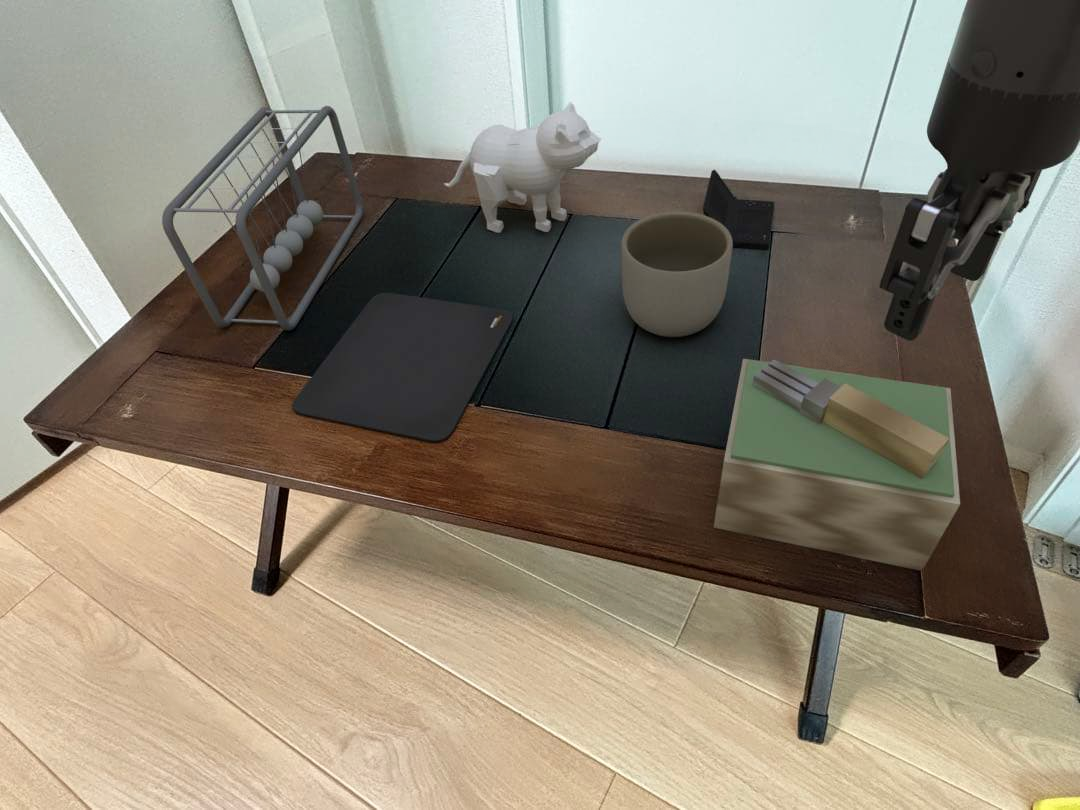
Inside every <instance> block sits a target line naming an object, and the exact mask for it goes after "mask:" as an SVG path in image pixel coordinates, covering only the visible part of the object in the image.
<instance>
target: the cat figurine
mask: <svg viewBox="0 0 1080 810" xmlns="http://www.w3.org/2000/svg"><path fill="white" fill-rule="evenodd" d="M597 132H599V133H600V131H598V130H597ZM601 140H602V138H601V137H600V136H598V135H597V134H596V132H593V131H592V130H591V129H590V127H589V125H588V123H587V121H586V120H585V119H584V118H583V117H582V116H581V115H579V114H578V113H577V110H576V107H575V104H573V103H572V101H569V102H568V104H567V105H566V107H565V108H564V109H563V110H560V111H559V110H558V111H556V112H553V113H551V114H549V115H547V117H545V118H544V119H543V120H542V122H541V123H540V125H539V126H529V127H525V128H522V129H518V130H517V129H514V128H511V127H509V126H505V125H502V124H495V125H491V126H489V127H487V128H485V129H483V130H482V131H481V132H480V133H479V134H478V135H477V136H476V138H475V139H474V141H473V143H472V145H471V148H470V152H469V153H468V154H467V155H466V156H465V157H464V158H463V160H462V161H461V162H460V164H459V165H458V168H457V171H456V172H455V175H454V177H453V178H452V180H450V182H444V183H443V185H445V187H447V188H449V189H451V190H453V189H454V188H455V187H456V186H458V185H459V184H460V183H461V182H462V179H463V177H464V174H465V171H466V170H467V169H468V168H469V167H470V169H471V172H472V174H473V176H474V180H475V185H476V189H477V194H478V199H479V201H480V206H481V209H482V213H483V215H484V217H485V221H486V229H487V230H489V231H492V232H493V233H496V234H497V233H498V234H500V233H502V231H503V229H504V228H505V227H504V221H502V220H500V219H497V215H498V207H499V206H500V205H501V204H503V203H504V202H505V201H508V202H509V203H512V204H516V205H519V206H525V204H526V203H527V201H528V197H530V198H531V204H532V212H533V215H534V218H535V229H536V230H538V231H542V232H544V233H549V232H550V230H551V229H552V221H551V220H549V219H547V214H548V213H547V212H548V207H549V210H550V216H551V218H552V219H554V220H555V221H556V220H557V221H560V222H565V221H566V219H567V218H568V213H567V212H568V211H567V209H565V208H563V207H561V200H562V196H561V194H560V193H561V192H560V191H561V183H562V181H563V178H564V176H565V174H566V171H569V170H572V169H575V168H579V167H581V166H582V165H584V164H585V163H586V161H587V160H588V161H590V159H589V158H590V157H591V156H592V155H593V154H596V152H597V151H598V148H599V143H600V142H601ZM596 158H597V159H598V161H599V160H600V159H599V157H598V156H596ZM547 205H548V206H547Z"/></svg>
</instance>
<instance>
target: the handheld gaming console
mask: <svg viewBox="0 0 1080 810" xmlns="http://www.w3.org/2000/svg"><path fill="white" fill-rule="evenodd" d="M708 180H709V181H708V185H707V188H706V194H705V198H704V201H703V206H702V212H703V215H705V216H707V217H710V218H712V219H714V220H716V221H718V222H719V223H721V224H722V225H723V226H725V227H726V228H727V230H728V231H729V232H730V234H731V236H732V240H733V247H732V248H743V249H755V250H766V251H767V250H769V247H770V243H771V242H770V241H771V235H772V225H773V217H774V209H775V201H772V200H756V199H740V198H738V197H737V196H734V194H733V193H732V191H731V190H730V188H729V187H728V186H727V184H726V183H725V181H724V180H723V179H722V177H721V175H720V174H719V173H718V171H717V170H715V169H712V170H711V173H710V177H709V179H708Z"/></svg>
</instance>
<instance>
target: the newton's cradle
mask: <svg viewBox="0 0 1080 810" xmlns="http://www.w3.org/2000/svg"><path fill="white" fill-rule="evenodd" d="M276 114H306V116H305V117H304V118H303V119H302V121H301V122H300V123H299V124H298V125H297V126H296V127H294V128H293V127H289V128H287V127H285V128H284V127H283V128H282V127H281V126H280V125H281V124H280V123H279V119H278V117H277V115H276ZM313 114H315V116H314V117H313V118H312V119H311V120H310V121H309V123H308V124H307V126H306V127H304V129H303V131H302V132H301V133H300V134H299V135H298V132H299V131H300V129H302V127H303V126H304V125H305V124H306V123H307V121H308V120H309V119H310V118H311V116H312V115H313ZM265 117H267V118H265ZM327 117H328V119H329V122H330V124H331V125H330V126H331V128H332V132H333V135H334V138H335V141H336V145H337V148H338V151H339V155H340V158H341V161H342V164H343V167H344V171H345V174H346V177H347V180H348V183H349V187H350V190H351V193H352V197H353V200H354V204H355V212H354V214H353V215H343V214H342V215H338V214H337V215H336V214H335V215H334V214H333V215H332V214H324V212H323V208H322V206H321V205H320V204H319V203H318V202H317V201H314V200H311V199H310V200H309V196H308V190H307V183H306V178H305V172H304V166H303V160H302V153H301V149H302V148H303V147H304V145H306V143H307V142H308V140H309V139H310V138H311V137H312V136H313V134H314V133H315V132H316V130H317V129H319V127H320V126H321V124H322V123H323V122H324V121H325V119H326V118H327ZM264 119H265V120H264ZM263 120H264V121H263ZM262 121H263V122H262ZM261 122H262V123H261ZM260 123H261V124H260ZM268 123H270V126H271V128H264V127H265V126H266V125H267V124H268ZM259 124H260V125H259ZM258 125H259V126H258ZM257 126H258V128H257ZM255 128H257V129H256V130H255ZM253 130H255V131H254V132H253ZM261 130H262V132H263V134H264V135H265V137H266V139H267V140H268V141H252V140H253V139H254V138H255V137H256V136H257V135H258V134H259V133H260V131H261ZM265 130H272V132H273V135H274V137H275V139H276V141H271V140H270V138H269V137H268V135H267V133H266V131H265ZM282 130H293V131H292V132H291V134H290V135H289V136H288V137H287V138H286V139H285V136H284V133H283V131H282ZM252 132H253V133H252ZM251 133H252V134H251ZM250 134H251V135H250ZM249 135H250V136H249ZM248 136H249V137H248ZM295 136H296V138H295V140H294V141H293V142H292V144H291V145H290V146H289V147H288V144H289V142H290V141H291V140H292V139H293V138H294V137H295ZM247 137H248V138H247ZM246 138H247V139H246ZM245 139H246V140H245ZM244 140H245V142H243V141H244ZM242 142H243V144H242V145H241V146H240V144H241V143H242ZM259 143H260V144H269V145H270V146H271V148H272V150H273V151H274V154H273V155H272V156H270V155H269V156H268V155H267V156H265V155H261V156H260V155H259V154H258V152H257V150H256V148H255V147H254V145H253V144H259ZM249 144H250V146H251V147H252V149H253V151H254V153H255V154H256V156H254V155H252V156H250V155H249V156H248V155H247V156H245V155H243V156H241V155H240V154H241V153H242V152H243V150H244V149H245V148H246V147H247V146H248V145H249ZM273 144H277V145H278V147H279V148H278V149H277V150H276V148H275V147H274V145H273ZM239 146H240V147H239ZM238 147H239V148H238ZM237 148H238V150H236V149H237ZM235 150H236V151H235ZM234 151H235V152H234ZM233 152H234V154H233V155H232V153H233ZM280 154H281V157H280ZM297 154H299V159H300V165H301V171H302V178H303V183H304V189H303V186H302V184H301V181H300V178H299V175H298V173H297V169H296V167H295V164H294V161H293V159H294V158H295V157H296V156H297ZM230 155H232V156H231V157H230V158H229V159H228V160H227V161H226V159H227V158H228V157H229V156H230ZM239 155H240V156H239ZM240 158H258V160H259V162H260V163H261V165H262V168H261V169H260V170H259V171H249V172H248V171H247V170H246V167H245V166H244V164H243V163H242V161H241V159H240ZM261 158H269V160H268V161H267V162H266V163H265V164H264V162H263V161H262V159H261ZM276 158H278V160H277V162H276V163H275V160H276ZM235 159H237V160H238V162H239V163H240V165H241V167H242V169H243V170H244V173H246V175H247V177H248V179H249V180H250V182H249V184H247V186H246V187H234V186H233V184H232V182H231V180H230V179H229V177H228V176H227V174H226V172H225V171H226V169H227V168H228V167H229V166H230V165H231V163H232V162H233V161H234V160H235ZM225 161H226V162H225ZM224 162H225V164H223V163H224ZM222 164H223V165H222ZM221 165H222V166H221ZM270 165H272V166H273V167H272V168H271V169H270V170H269V171H268V168H269V166H270ZM220 166H221V168H220V169H219V170H217V169H218V168H219V167H220ZM216 170H217V172H216V173H215V174H214V172H215V171H216ZM284 171H285V173H286V175H287V176H288V178H289V180H290V184H291V190H292V195H293V201H294V206H295V213H296V214H293V212H292V211H291V208H290V207H289V205H288V204H287V202H286V200H285V199H284V197H283V195H282V193H281V192H280V186H279V181H278V180H279V179H278V178H279V177H280V176H281V174H282V173H283V172H284ZM265 172H266V173H267V174H266V175H265V176H264V178H263V179H262V175H263V174H264V173H265ZM251 173H252V174H253V173H254V174H255V173H256V175H255V176H254V178H252V177H251V176H250V174H251ZM213 174H214V175H213ZM221 174H223V175H224V176H225V178H226V180H227V182H228V183H229V185H230V186H231V187H213V189H216V190H217V189H222V190H223V189H224V190H225V189H226V190H227V189H228V190H229V189H230V190H231V189H232V190H233V191H234V193H235V194H236V196H237V198H236V199H235V200H234V201H233V202H232V203H231V205H230V206H229V207H228V208H222V205H221V204H220V202H219V200H218V199H217V198H216V196H215V194H214V193H213V191H212V190H211V185H212V184H213V183H214V182H215V181H216V180H217V179H218V178H219V177H220V176H221ZM212 175H213V176H212ZM211 176H212V178H211V179H210V180H209V181H208V182H207V183H206V184H205V185H204V186H203V188H201V186H202V185H203V184H204V183H205V182H206V181H207V180H208V179H209V178H210V177H211ZM258 180H260V181H259V184H258V185H257V186H256V185H255V183H256V182H257V181H258ZM275 182H276V183H275ZM272 185H274V187H275V189H276V190H277V192H278V197H279V202H280V207H281V211H282V217H283V223H284V227H285V229H283V230H282V228H281V226H280V225H279V223H278V221H277V219H276V217H275V216H274V214H273V213H272V211H271V210H270V208H269V206H268V204H267V198H266V193H267V192H268V191H269V189H270V188H271V187H272ZM253 186H254V190H253V191H252V192H251V193H250V194H248V192H249V190H251V188H252V187H253ZM200 188H201V190H200V191H198V190H199V189H200ZM207 190H208V191H209V192H210V194H211V196H212V197H213V199H215V200H214V201H215V202H216V203H217V205H218V207H219V208H192V206H193V205H194V204H195V203H196V202H197V201H198V199H200V198H201V197H202V195H203V194H204V193H205V192H206V191H207ZM237 190H243V191H241V193H239V194H238V192H237ZM304 190H305V192H304ZM196 192H198V193H197V194H196V195H195V196H194V197H193V198H192V199H191V200H190V201H189V202H188V204H187V205H186V206H185V207H183V206H184V205H185V204H186V203H187V201H188V200H189V199H190V198H191V197H192V196H193V195H194V194H195V193H196ZM295 194H296V196H295ZM245 195H246V199H245V200H244V202H243V200H242V199H243V197H245ZM296 197H297V199H298V202H299V204H298V205H297V201H296ZM260 200H262V202H263V203H264V205H265V209H266V214H267V218H268V222H269V227H270V232H271V237H272V241H273V245H271V244H270V243H269V241H268V239H267V238H266V236H265V235H264V233H263V232H262V229H261V228H260V227H259V226H258V223H257V222H256V220H255V219H254V217H253V213H252V210H253V209H254V208H255V207H256V205H258V203H259V202H260ZM282 201H283V202H282ZM239 202H241V205H240V206H239V208H235V207H236V206H237V205H238V204H239ZM283 203H284V205H285V206H286V208H287V209H288V211H289V213H290V215H291V217H289V218H288V219H287V221H286V217H285V213H284V207H283ZM182 207H183V208H182ZM176 213H222V214H223V215H224V216H225V218H226V219H227V222H229V224H230V225H231V227H232V229H233V230H234V232H235V234H236V235H237V237H238V239H239V241H240V242H241V244H242V246H243V249H244V251H245V253H246V256H247V257H248V260H249V262H250V264H251V266H252V269H251V271H250V272H249V281H250V282H248V284H247V285H246V287H245V288H244V290H243V291H242V292H241V293H240V295H239V296H238V298H237V299H236V301H235V302H234V304H233V305H232V306H231V308H230V309H229V311H228V312H227V314H226V315H225V316H224V318H222V316H221V315H220V312H219V311H218V308H217V306H216V305H215V302H214V301H213V299H212V297H211V295H210V293H209V291H208V290H207V287H206V286H205V284H204V282H203V279H202V278H201V276H200V274H199V273H198V271H197V269H196V267H195V265H194V263H193V261H192V259H191V258H190V256H189V254H188V252H187V250H186V247H185V246H184V243H183V242H182V240H181V239H180V236H179V235H178V233H177V230H176V229H175V226H174V218H175V215H176ZM226 213H227V214H228V213H232V214H233V213H234V214H235V226H234V225H233V223H232V222H231V220H230V218H229V216H228V215H227V214H226ZM270 215H271V217H272V219H273V220H274V222H275V223H276V225H277V226H278V229H279V230H280V231H279V232H278V234H276V236H274V231H273V226H272V223H271V218H270ZM363 215H364V203H363V198H362V195H361V191H360V189H359V185H358V182H357V177H356V175H355V172H354V169H353V165H352V162H351V158H350V155H349V151H348V147H347V145H346V141H345V138H344V135H343V131H342V128H341V124H340V121H339V118H338V115H337V113H336V110H334V108H333V107H331V106H330V105H324V106H322V108H320V109H286V110H285V109H281V110H279V109H278V110H276V109H272V108H271V107H269V106H262V107H260V108H259V109H258V110H257V111H256V112H255V113H254V114H253V116H252V117H250V118H249V119H248V121H246V122H245V124H244V125H243V126H242V127H241V128H240V129H239V130H238V131H237V132H236V133H235V134H234V135H233V136H232V137H231V138H230V139H229V140H228V141H227V143H226V144H225V145H224V146H223V147H222V148H221V149H220V150H219V151H218V152H217V153H216V154H215V155H214V156H213V157H212V159H210V160H209V161H208V163H207V164H205V165H204V167H203V168H201V170H200V171H199V172H198V173H197V174H196V175H195V176H194V177H193V178H192V179H191V180H190V181H189V182H188V183H187V185H186V186H185V187H183V189H182V190H181V191H180V192H179V193H178V194H177V195H176V196H175V197H174V198H173V199H172V200H171V201H170V203H168V204H167V206H165V208H164V210H163V212H162V217H161V218H162V220H161V222H162V228H163V231H164V233H165V235H166V238H167V239H168V241H169V243H170V244H171V247H172V249H173V250H174V252H175V254H176V256H177V258H178V259H179V261H180V264H181V265H182V267H183V269H184V271H185V272H186V274H187V276H188V278H189V280H190V282H191V284H192V285H193V287H194V289H195V291H196V293H197V295H198V296H199V298H200V301H201V302H202V304H203V306H204V308H205V309H206V312H207V313H208V315H209V317H210V319H211V320H212V321H213V323H214V324H215V325H216V327H219V328H227V327H229V326H231V325H232V323H252V324H274V325H279V327H280V328H281V329H282V330H284V331H288V332H289V331H292V330H294V329H295V328H296V327H297V325H298V324H299V323H300V321H301V319H302V318H303V316H304V314H305V313H306V311H307V309H308V307H309V306H310V304H311V303H312V301H313V299H314V297H315V296H316V295H317V292H318V291H319V290H320V287H321V286H322V284H323V283H324V282H325V279H326V278H327V277H328V275H329V273H330V271H331V270H332V268H333V267H334V264H335V263H336V261H337V259H339V256H340V254H341V253H342V251H343V250H344V248H345V246H346V245H347V243H348V242H349V240H350V238H351V236H352V235H353V233H354V231H355V230H356V228H357V227H358V225H359V223H360V222H361V220H362V218H363ZM248 216H249V217H250V218H251V223H252V227H253V232H254V237H255V242H256V246H257V249H256V247H255V245H254V242H253V240H252V237H251V235H250V233H249V231H248V226H247V219H248ZM323 219H350V221H349V223H348V225H347V226H346V228H345V229H344V231H343V232H342V234H341V235H340V238H339V239H338V240H337V242H336V244H335V246H334V247H333V249H332V251H331V252H330V254H329V255H328V257H327V258H326V260H325V261H324V263H323V264H322V266H321V268H320V270H319V271H318V273H317V275H316V276H315V278H314V279H313V281H312V283H311V284H310V285H309V287H308V289H307V291H306V293H305V294H304V295H303V297H302V299H301V300H300V302H299V303H298V304H297V305H298V306H297V307H296V309H295V310H294V312H293V314H292V315H291V317H290V318H289V320H288V319H287V317H286V315H285V312H284V310H283V308H282V305H281V303H280V301H279V298H278V297H277V294H276V292H275V290H276V289H277V288H278V286H279V285H280V281H281V276H280V274H283V273H285V272H288V270H289V269H290V268H291V267H292V265H293V257H297V256H298V255H299V254H300V253H301V252H302V250H303V247H304V242H305V241H307V240H309V239H310V238H311V237H312V235H313V233H314V227H315V226H318V225H319V224H320V223H322V220H323ZM256 227H257V229H258V231H259V233H260V234H261V236H262V237H263V239H264V240H265V242H266V244H267V245H268V248H266V250H265V251H264V253H263V257H262V255H261V250H260V245H259V241H258V237H257V232H256ZM262 258H263V261H262ZM256 290H257V291H259V292H262V293H264V295H265V298H266V299H267V302H268V303H269V306H270V308H271V310H272V312H273V314H274V317H275V319H276V320H270V319H269V320H267V319H266V320H265V319H249V318H248V319H244V318H237V316H238V315H239V314H240V312H241V310H242V309H243V308H244V307H245V305H246V303H247V302H248V301H249V299H250V298H251V296H252V295H253V294H254V292H255V291H256Z"/></svg>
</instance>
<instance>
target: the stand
mask: <svg viewBox="0 0 1080 810" xmlns="http://www.w3.org/2000/svg"><path fill="white" fill-rule="evenodd" d="M748 360H751V359H750V358H743V359H742V362H741V366H740V367H741V368H740V373H739V378H738V382H737V383H738V384H737V388H736V394H735V398H734V399H735V400H734V405H733V410H732V416H731V421H730V425H729V426H730V427H729V431H728V436H727V442H726V447H725V451H724V458H723V463H722V470H721V477H720V483H719V488H718V489H719V491H718V495H717V502H716V507H715V508H716V509H715V516H714V522H713V528H714V529H719V530H723V531H727V532H733V533H737V534H742V535H748V536H753V537H757V538H762V539H767V540H771V541H776V542H780V543H785V544H789V545H795V546H800V547H804V548H808V549H809V548H810V549H814V550H819V551H824V552H829V553H833V554H837V555H843V556H848V557H853V558H857V559H862V560H866V561H871V562H877V563H881V564H886V565H890V566H895V567H900V568H905V569H909V570H915V571H919V572H922V571H923V570H924V568H925V567H926V565H927V563H928V562H929V560H930V557H931V556H932V554H933V553H934V551H935V549H936V548H937V546H938V544H939V542H940V541H941V538H943V535H944V533H945V532H946V530H947V528H948V527H949V525H950V523H951V522H952V519H953V518H954V516H955V514H956V513H957V511H958V509H959V507H960V505H961V496H960V486H959V485H960V484H959V474H958V461H957V450H956V438H955V428H954V427H955V425H954V415H953V403H952V393H951V391H952V390H951V388H950V387H943V386H941V387H942V388H946V394H947V406H948V419H949V431H950V444H951V457H952V469H953V482H954V494H955V495H954V497H953V498H951V497H946V496H940V495H935V494H929V493H924V492H918V491H913V490H907V489H902V488H896V487H891V486H885V485H880V484H874V483H869V482H863V481H858V480H852V479H847V478H841V477H836V476H830V475H825V474H819V473H814V472H808V471H803V470H797V469H791V468H786V467H780V466H775V465H769V464H764V463H758V462H753V461H747V460H742V459H736V458H731V453H732V447H733V442H734V436H735V431H736V425H737V420H738V414H739V408H740V403H741V397H742V392H743V386H744V381H745V375H746V370H747V364H748ZM754 360H755V361H758V360H756V359H754ZM761 361H762V360H761ZM762 362H765V361H762ZM768 362H769V363H770V362H771V361H768ZM783 364H784V363H783ZM784 365H786V364H784ZM788 365H789V366H793V365H792V364H791V365H790V364H788ZM795 366H796V367H800V366H798V365H795ZM802 367H803V368H807V367H806V366H802ZM809 368H810V369H814V368H811V367H809ZM816 369H817V370H820V369H819V368H816ZM823 370H824V371H827V370H825V369H823ZM830 371H831V372H834V371H832V370H830ZM837 372H838V373H841V371H840V372H839V371H837ZM844 373H845V374H848V372H847V373H846V372H844ZM851 374H852V375H855V374H854V373H851ZM858 375H859V376H862V375H860V374H858ZM865 376H866V377H869V376H867V375H865ZM872 377H873V378H876V377H875V376H872ZM879 378H880V379H883V378H882V377H879ZM886 379H887V380H890V379H888V378H886ZM893 380H894V379H893ZM894 381H897V380H896V379H895V380H894ZM900 381H901V382H904V381H902V380H900ZM907 382H908V381H907ZM908 383H911V382H908ZM913 383H914V384H918V383H916V382H913ZM920 384H921V385H925V384H923V383H920ZM927 385H928V386H932V385H930V384H927ZM934 386H935V387H939V386H938V385H937V386H936V385H934Z"/></svg>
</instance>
